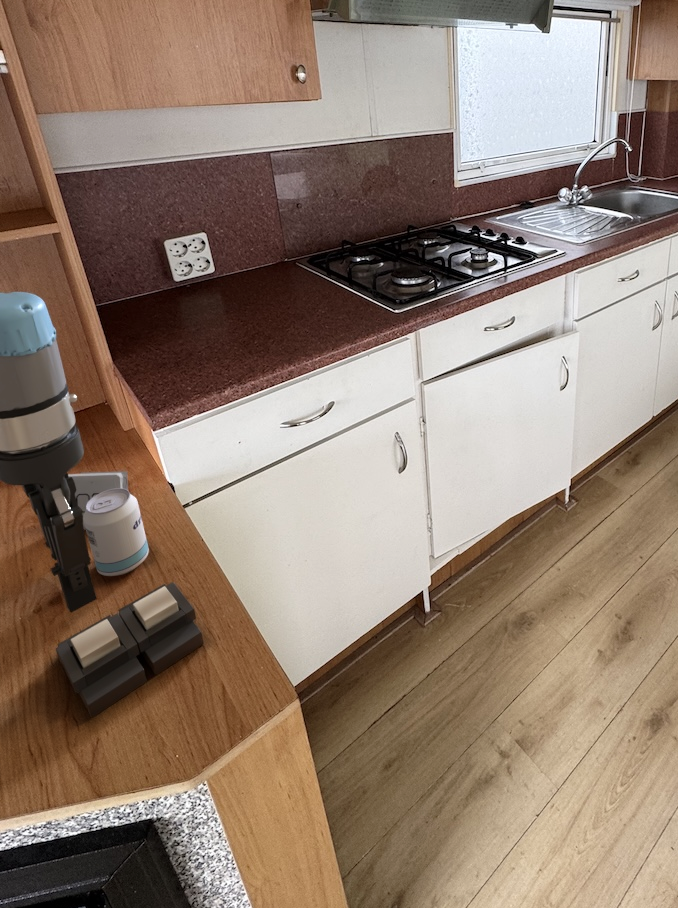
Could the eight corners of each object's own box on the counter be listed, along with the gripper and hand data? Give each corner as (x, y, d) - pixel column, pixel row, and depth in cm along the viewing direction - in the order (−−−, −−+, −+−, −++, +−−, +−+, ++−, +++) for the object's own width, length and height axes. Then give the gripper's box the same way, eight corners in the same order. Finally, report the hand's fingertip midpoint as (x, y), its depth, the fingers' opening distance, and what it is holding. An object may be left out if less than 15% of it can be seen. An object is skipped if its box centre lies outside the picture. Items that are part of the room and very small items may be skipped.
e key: (135, 613, 77) (132, 603, 77) (166, 595, 80) (164, 585, 80) (146, 631, 75) (144, 621, 74) (179, 611, 78) (176, 601, 77)
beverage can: (150, 570, 89) (135, 506, 85) (96, 588, 85) (78, 522, 81) (149, 541, 94) (135, 480, 90) (99, 557, 91) (81, 494, 87)
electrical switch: (63, 532, 96) (53, 482, 94) (82, 513, 101) (73, 465, 99) (122, 529, 97) (114, 480, 95) (138, 511, 102) (131, 463, 100)
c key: (73, 649, 72) (70, 639, 72) (109, 628, 75) (106, 618, 75) (83, 669, 70) (80, 658, 69) (120, 646, 73) (117, 636, 72)
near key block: (56, 659, 75) (49, 636, 73) (116, 624, 80) (110, 602, 78) (87, 721, 68) (79, 697, 66) (151, 679, 72) (145, 655, 71)
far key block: (117, 623, 80) (111, 601, 79) (170, 593, 85) (165, 572, 83) (151, 678, 73) (145, 655, 71) (207, 641, 78) (202, 619, 76)
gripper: (95, 444, 61) (136, 613, 69) (58, 401, 69) (99, 557, 77) (5, 477, 55) (61, 656, 63) (-24, 426, 63) (29, 591, 71)
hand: (82, 602), depth 70 cm, fingers closed
